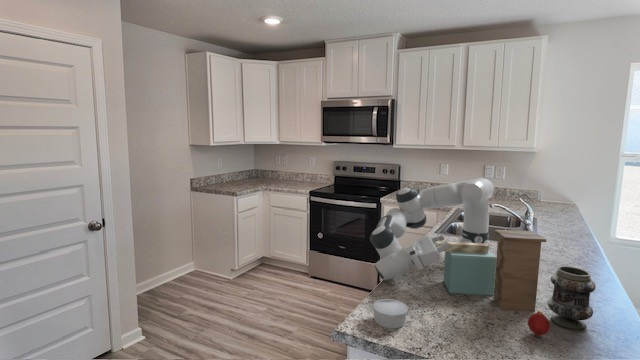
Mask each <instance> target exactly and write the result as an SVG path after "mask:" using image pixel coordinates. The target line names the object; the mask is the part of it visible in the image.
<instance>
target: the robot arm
mask: <svg viewBox="0 0 640 360" xmlns="http://www.w3.org/2000/svg"><path fill="white" fill-rule="evenodd" d="M494 190H495V187H494V184H493V182H492V181H490V180H489V179H487V178H484V177H483V178H482V177H479V178H474V179H469V180H462V181H457V182H453V183H447V184H441V185H436V186H435V185H434V186H431V187H430V186H429V187H427V188H425V189H421V190H419V189H416V188H414V187H410V186H409V187H404V188H402V189H399V190H398V191H397V192H396V193H395V199H396V200H395V201H396V202H397V205H398V207H393V208H391V209H389V210H388V211H387V212H386V214H385V216H383V217H382V218H381V219H379V221H378V223H377V225H376V227H375V228H374V229H373V231H372V232H371V233H370V237H369V241H370V243H371V244H372V246H373V247H374V248H375V250H376V252H377V253H378V255H379V257H380V259H379V260H378V261H377V262H375V263H374V268H375V270H376V272H377V274H378V275H379V277H380V278H381V280H383V281H388V280H391V279H394V278H397V277H399V276H401V275H403V274H404V273H405V272H407V271H412V270H414V269H416V270H418V271H422V270H424V269H425V267H428V266H430V265H432V264H434V263H436V262H437V261H439V260H440V259H441V258H442V255H441V253H443V252H445V251H444V250H445V249H446V248H448V247H449V244H448V243H447V242H448V241H444V240H445V237H444V235H443V234H439V235H438V236H433V237H431V236H430V235H426V236H423V237H421V238H420V239H418V240H416V241H415V242H414V243H410V244H409V245H407V246H404V247H402V246H401V244H400V242H399V240H398V239H400V238H402V237H404V235H405V233H406V231H407V228H409V229H413V230H414V229H415V230H417V229H420V228H422V227H423V226H425V225H426V223H427V215H426V213H425V209H437V208H438V209H439V208H445V207H446V208H448V207H453V206H454V207H455V206H459V205H462V206H463V226H462V230H461V234H460V235H461V236H460V237H459V238H458V239H457V242H464V243H486V244H487V245H488V246H489V250H490V251H491V252H492V243H491V242H490V241H489V238H490V231H489V222H490V214H489V208H488V207H489V206H488V200H489V199H490V198H491V197H492V196H493V194H494ZM436 241H444V242H445V243H443V244H442V245H441V246H438V247H436Z"/></svg>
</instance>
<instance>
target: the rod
mask: <svg viewBox="0 0 640 360" xmlns="http://www.w3.org/2000/svg"><path fill="white" fill-rule="evenodd" d="M445 242H447V243H448V244H449V247H448V248H446V249H445V250H444V251H443V252H445V251H449V252H469V253H488V251H489V246H488V245H487V244H486V243H464V242H458V241H444V240H442V241H436V243H435V246H436V247H438V246H441V245H442V244H443V243H445Z"/></svg>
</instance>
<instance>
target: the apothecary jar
mask: <svg viewBox="0 0 640 360" xmlns="http://www.w3.org/2000/svg"><path fill="white" fill-rule="evenodd" d="M550 281H551V284H553V291H552V296H550V297H549V298H548V299H547V301H546V303H547V306H548V308H549V309H550V310H551V311H552V312H553V313H554V314H555V315H552V316H551V317H550V318H549V319H550V321H549V322H551V323H552V324H553V325H554V326H556V327H557V328H560V329H562V330H565V331H568V332H576V333H577V332H578V333H580V332H586V331H587V329H588V327H587V324H586V323H584V322H583V321H587V320H588V319H591V318H592V317H593V315H594V310H593V308H592V305H590V297H591V293H593V292H594V291H595V290H596V288H597V287H596V283H595V282H594V281H593V280H592V277H591V273H590V272H589V271H587V270H585V269H583V268H579V267H575V266H570V265H561V266H558V268H557V271H555V272H554V273H552V274H551V275H550Z"/></svg>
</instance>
